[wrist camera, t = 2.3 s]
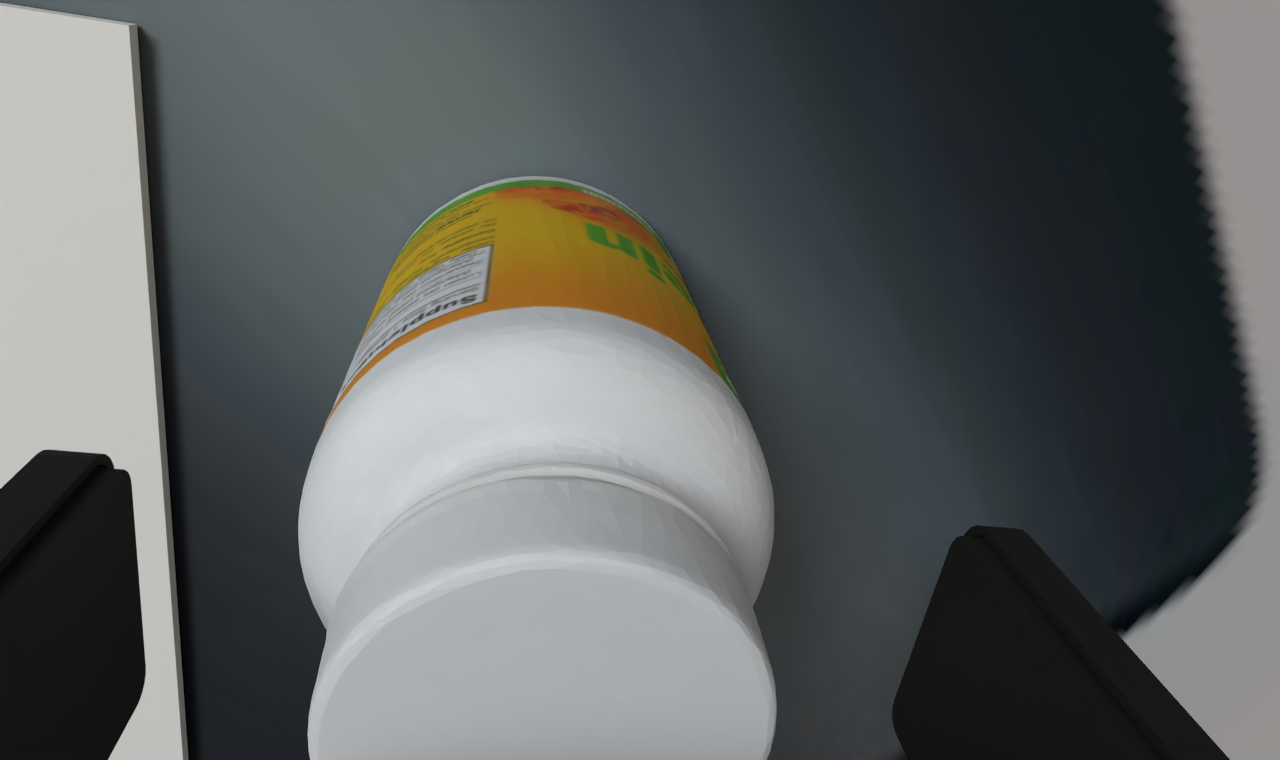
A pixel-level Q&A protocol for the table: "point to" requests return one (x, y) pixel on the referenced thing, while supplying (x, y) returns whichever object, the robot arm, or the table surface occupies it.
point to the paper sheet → (88, 304)
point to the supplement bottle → (538, 503)
